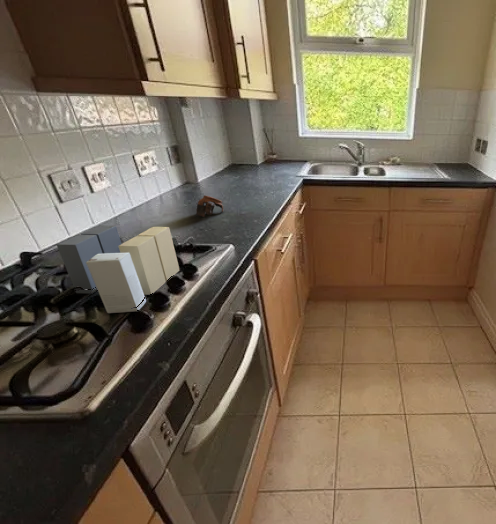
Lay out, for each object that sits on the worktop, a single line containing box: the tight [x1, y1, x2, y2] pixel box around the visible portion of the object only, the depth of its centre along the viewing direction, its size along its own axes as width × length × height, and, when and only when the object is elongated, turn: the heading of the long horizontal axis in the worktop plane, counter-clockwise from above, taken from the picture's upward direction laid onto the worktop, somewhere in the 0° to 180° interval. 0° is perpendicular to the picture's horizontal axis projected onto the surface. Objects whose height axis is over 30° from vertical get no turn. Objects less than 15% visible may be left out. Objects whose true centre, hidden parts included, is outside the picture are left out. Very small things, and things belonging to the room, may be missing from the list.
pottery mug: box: [195, 195, 224, 218], centre depth 130 cm, size 12×10×8 cm
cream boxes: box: [118, 226, 180, 296], centre depth 78 cm, size 4×12×12 cm, turn 0°
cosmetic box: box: [86, 253, 147, 314], centre depth 68 cm, size 6×4×12 cm
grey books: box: [56, 224, 123, 294], centre depth 78 cm, size 4×12×12 cm, turn 0°
